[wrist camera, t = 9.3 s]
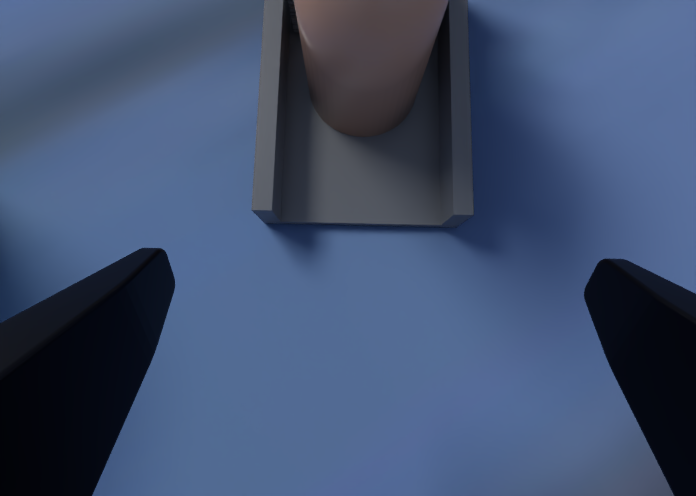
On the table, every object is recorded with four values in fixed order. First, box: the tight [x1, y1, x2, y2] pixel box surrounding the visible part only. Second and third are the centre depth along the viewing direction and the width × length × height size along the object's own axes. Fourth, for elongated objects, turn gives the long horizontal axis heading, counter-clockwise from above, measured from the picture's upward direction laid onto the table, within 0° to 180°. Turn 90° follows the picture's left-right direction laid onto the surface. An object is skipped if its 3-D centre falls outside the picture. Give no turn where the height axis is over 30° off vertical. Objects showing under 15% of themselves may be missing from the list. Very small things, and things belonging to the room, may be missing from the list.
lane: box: [252, 0, 474, 227], centre depth 20 cm, size 15×11×6 cm
